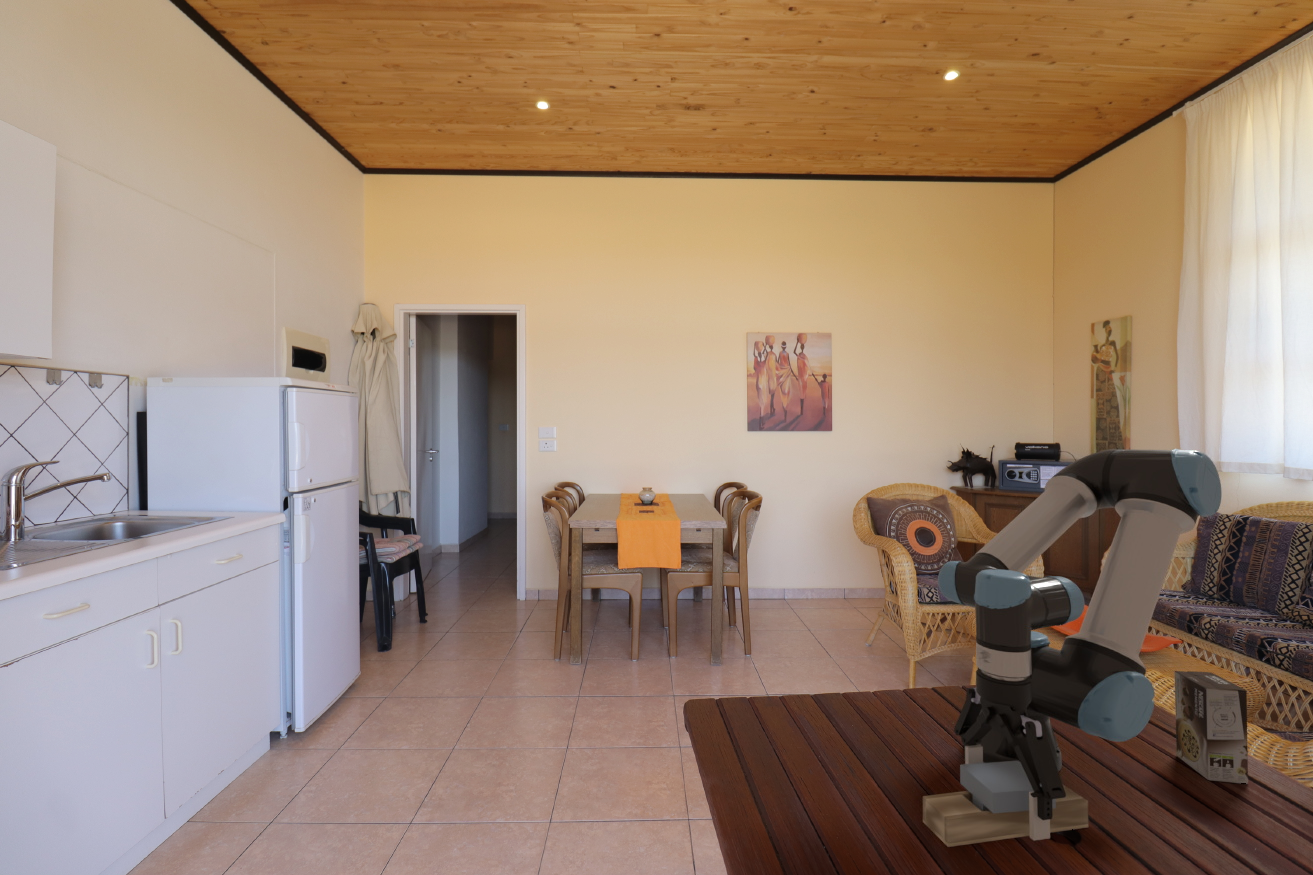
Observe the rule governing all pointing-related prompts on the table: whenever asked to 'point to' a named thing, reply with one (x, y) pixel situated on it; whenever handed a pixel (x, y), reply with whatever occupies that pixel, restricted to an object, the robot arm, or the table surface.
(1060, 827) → the rail
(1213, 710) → the coffee box
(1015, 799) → the grey plastic block
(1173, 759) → the table surface
